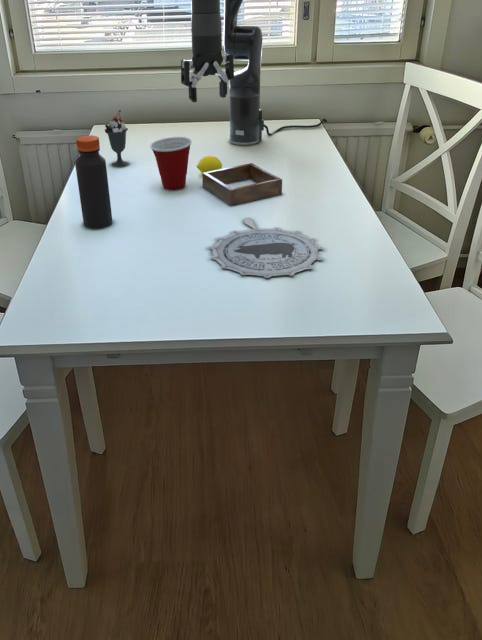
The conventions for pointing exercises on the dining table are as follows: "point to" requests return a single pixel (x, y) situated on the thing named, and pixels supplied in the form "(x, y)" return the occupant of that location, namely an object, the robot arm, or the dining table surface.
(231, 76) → the robot arm
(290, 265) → the decorative wall hanging
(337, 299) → the dining table surface
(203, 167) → the lemon
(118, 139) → the sundae
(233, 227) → the dining table surface
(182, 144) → the plastic cup
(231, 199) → the wooden box
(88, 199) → the bottle
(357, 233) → the dining table surface
